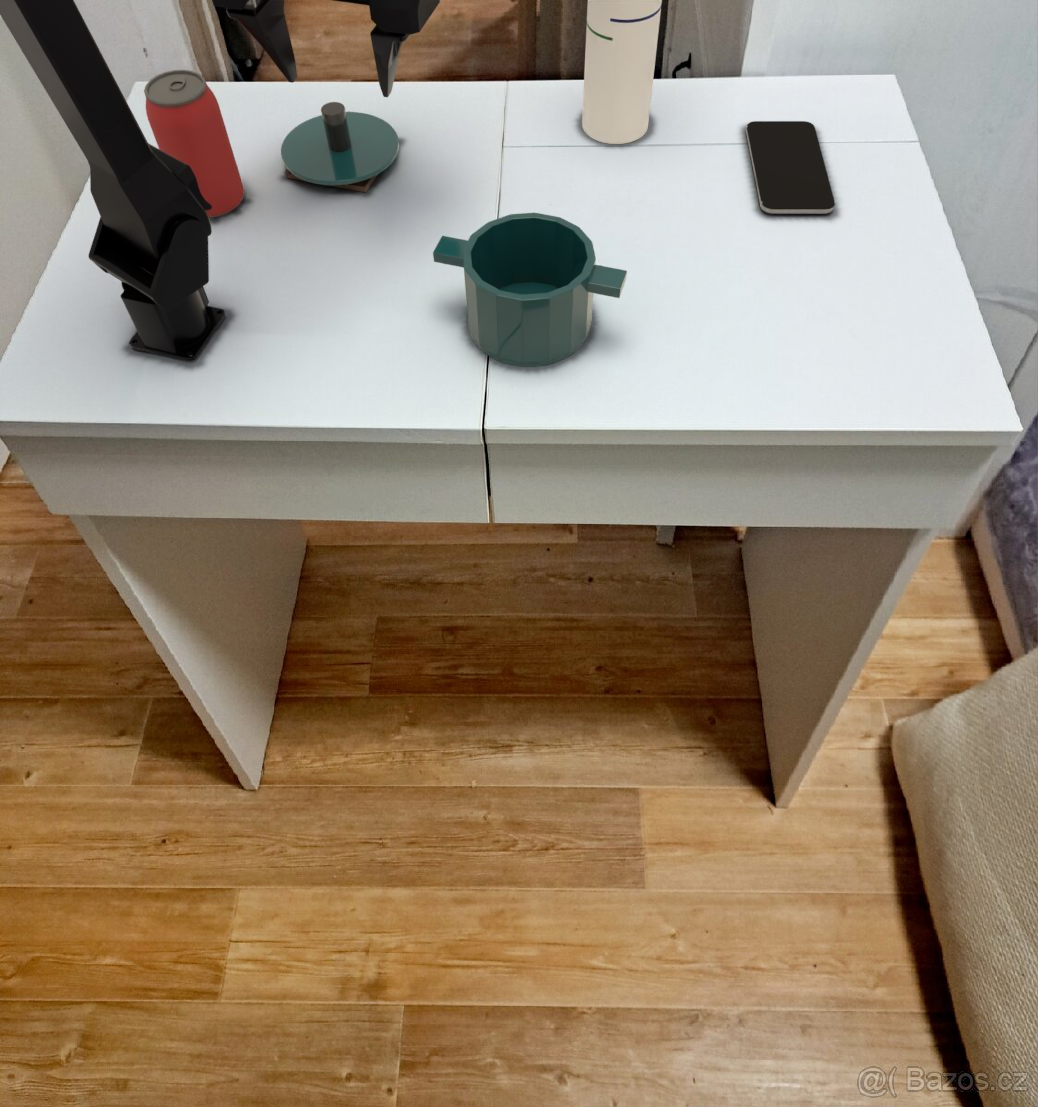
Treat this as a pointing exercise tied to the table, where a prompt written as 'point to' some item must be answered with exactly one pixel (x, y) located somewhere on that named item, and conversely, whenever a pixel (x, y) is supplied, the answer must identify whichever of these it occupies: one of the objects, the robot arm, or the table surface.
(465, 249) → the pot
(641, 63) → the cylindrical container
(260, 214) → the table surface
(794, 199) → the smartphone
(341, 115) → the lid
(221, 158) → the beer can
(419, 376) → the table surface
